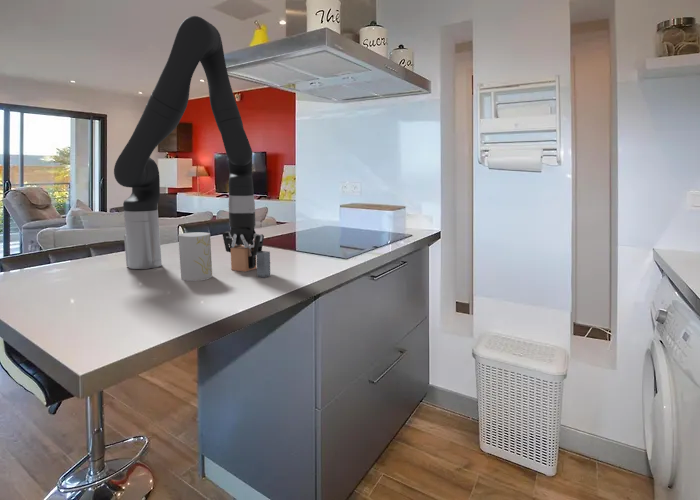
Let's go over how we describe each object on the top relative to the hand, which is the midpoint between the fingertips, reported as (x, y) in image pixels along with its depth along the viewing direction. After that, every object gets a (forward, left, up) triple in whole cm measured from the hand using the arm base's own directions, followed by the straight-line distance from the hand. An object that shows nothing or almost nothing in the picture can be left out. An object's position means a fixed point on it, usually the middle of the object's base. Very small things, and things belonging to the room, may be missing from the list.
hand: (244, 266), depth 127 cm
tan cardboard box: (0, 0, -1) cm, 1 cm away
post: (+11, -5, -1) cm, 12 cm away
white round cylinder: (-5, -14, -1) cm, 15 cm away
